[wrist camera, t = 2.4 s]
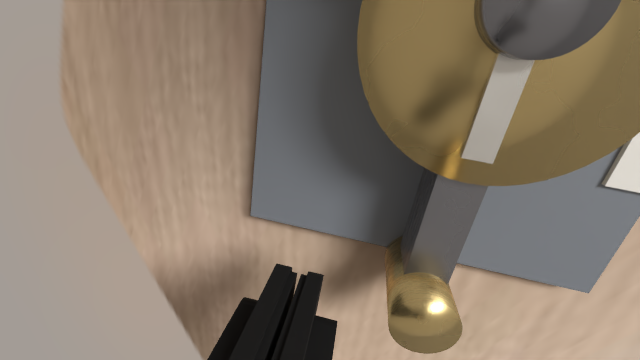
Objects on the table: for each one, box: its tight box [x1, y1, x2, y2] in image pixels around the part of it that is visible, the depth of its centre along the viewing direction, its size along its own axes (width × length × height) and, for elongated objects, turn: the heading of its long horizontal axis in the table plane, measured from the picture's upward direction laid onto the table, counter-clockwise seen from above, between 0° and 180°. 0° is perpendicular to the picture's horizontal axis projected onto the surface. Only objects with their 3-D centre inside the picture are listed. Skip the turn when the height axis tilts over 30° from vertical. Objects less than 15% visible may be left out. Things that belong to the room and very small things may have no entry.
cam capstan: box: [357, 0, 640, 353], centre depth 9 cm, size 17×20×4 cm
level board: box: [251, 0, 640, 293], centre depth 11 cm, size 20×16×1 cm
